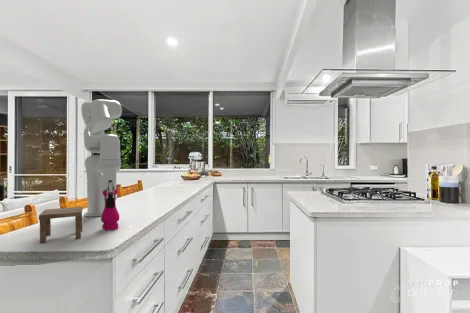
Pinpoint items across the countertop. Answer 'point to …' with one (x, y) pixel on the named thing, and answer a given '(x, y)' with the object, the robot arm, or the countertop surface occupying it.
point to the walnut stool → (59, 213)
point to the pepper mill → (110, 214)
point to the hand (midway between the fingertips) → (110, 206)
